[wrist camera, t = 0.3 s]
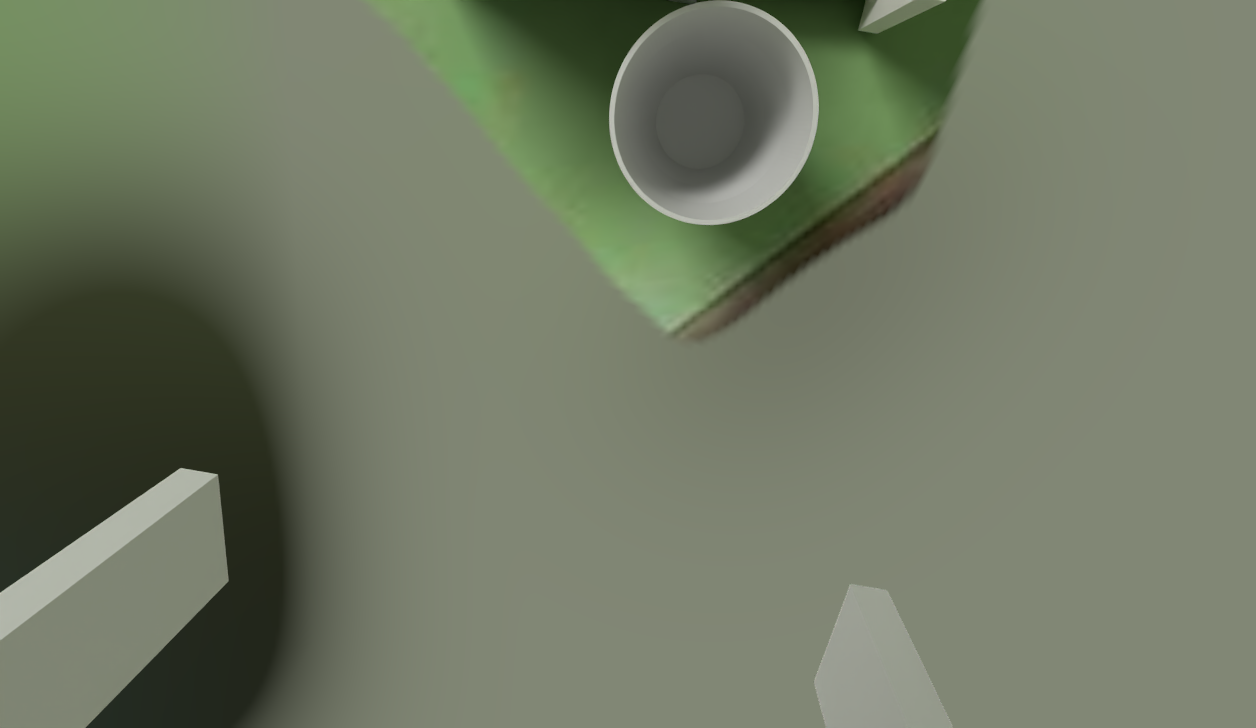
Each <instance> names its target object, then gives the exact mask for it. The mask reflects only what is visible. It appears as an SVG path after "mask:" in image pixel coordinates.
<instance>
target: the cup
mask: <svg viewBox="0 0 1256 728" xmlns="http://www.w3.org/2000/svg"><path fill="white" fill-rule="evenodd" d="M818 112H819V102H818V91H817V85H816V80H815V76H814V72H813V69H812V67H811V64H810V62H809V59H808V57H807V55H806V53H805V51H804V50H803V48H802V46H801V45H800V43H799V42H798V40H797V39H796V38H795V37H794V35H793V34H792V33H791V32H790V31H789V30H788V29H787V28H786V27H785V26H784V25H783V24H782V23H781V22H779V21H778V20H777V19H776V18H774V17H773V16H771V15H770V14H768V13H766V12H764V11H762V10H760V9H758V8H756V7H753V6H751V5H747V4H744V3H740V2H734V1H726V0H713V1H704V2H699V3H694V4H691V5H688V6H685V7H682V8H680V9H677V10H675V11H673V12H671V13H670V14H668V15H666V16H664V17H663V18H661V19H660V20H659V21H657V22H656V23H655V24H653V25H652V26H651V27H650V28H649V29H648V30H647V31H645V32H644V33H643V35H642V36H641V37H640V38H639V39H638V40H637V41H636V43H635V44H634V45H633V47H632V48H631V49H630V51H629V52H628V54H627V56H626V57H625V59H624V61H623V63H622V65H621V67H620V69H619V72H618V74H617V77H616V80H615V83H614V86H613V90H612V95H611V101H610V110H609V127H610V136H611V142H612V146H613V150H614V153H615V156H616V159H617V162H618V164H619V166H620V169H621V171H622V172H623V174H624V176H625V178H626V179H627V181H628V182H629V184H630V185H631V186H632V188H633V189H634V190H635V191H636V192H637V194H638V195H639V196H640V197H641V198H642V199H643V200H644V201H646V202H647V203H648V204H649V205H651V206H652V207H653V208H655V209H656V210H658V211H659V212H661V213H663V214H665V215H667V216H669V217H671V218H674V219H677V220H680V221H683V222H687V223H692V224H699V225H718V224H726V223H731V222H734V221H738V220H741V219H744V218H746V217H749V216H751V215H753V214H755V213H757V212H759V211H761V210H762V209H764V208H765V207H767V206H768V205H770V204H771V203H772V202H774V201H775V200H776V199H777V198H778V197H779V196H781V195H782V194H783V193H784V192H785V191H786V189H787V188H788V187H789V186H790V185H791V184H792V182H793V181H794V180H795V178H796V177H797V176H798V174H799V173H800V171H801V169H802V168H803V166H804V164H805V162H806V160H807V158H808V155H809V153H810V151H811V148H812V145H813V142H814V138H815V134H816V129H817V123H818Z"/></svg>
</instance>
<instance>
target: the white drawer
mask: <svg viewBox="0 0 1256 728" xmlns="http://www.w3.org/2000/svg"><path fill="white" fill-rule="evenodd" d="M945 1H946V0H866V1H865V5H864V9H863V13H862V17H861V21H860V25H859V28H858V31H864V32H870V33H876V34H878V33H880V32H882V31H884V30H886V29H889V28H891V27H893V26H895V25H897V24H899V23H901V22H903V21H905V20H907V19H910V18H912V17H914V16H916V15H918V14H920V13H922V12H924V11H926V10H929V9H931V8H933V7H935V6H937V5H939V4H941V3H943V2H945Z"/></svg>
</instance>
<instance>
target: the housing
mask: <svg viewBox="0 0 1256 728" xmlns="http://www.w3.org/2000/svg"><path fill="white" fill-rule="evenodd" d="M668 1H674V2H680V3H686V4H694V3H696V1H697V0H668Z"/></svg>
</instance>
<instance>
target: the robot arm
mask: <svg viewBox="0 0 1256 728" xmlns="http://www.w3.org/2000/svg"><path fill="white" fill-rule="evenodd" d="M219 492H220V491H219V482H218V475H217V474H212V473H206V472H200V471H194V470H188V469H183V468H180V469H179V470H177V471H176V472H175V473H173V474H172V475H170V476H169V477H168V478H166V479H165V480H163V481H162V482H160V483H159V484H157V485H156V486H154V487H153V488H151V489H150V490H149V491H147V492H146V493H144V494H143V495H141V496H140V497H138V498H137V499H136V500H134V501H133V502H131V503H130V504H128V505H127V506H125V507H124V508H122V509H121V510H120V511H118V512H117V513H115V514H114V515H112V516H111V517H109V518H108V519H107V520H105V521H104V522H102V523H101V524H99V525H98V526H97V527H95V528H93V529H92V530H91V531H89V532H88V533H86V534H85V535H83V536H82V537H80V538H79V539H78V540H76V541H75V542H73V543H72V544H70V545H69V546H67V547H66V548H65V549H63V550H62V551H60V552H59V553H57V554H56V555H54V556H53V557H52V558H50V559H49V560H47V561H46V562H44V563H43V564H41V565H40V566H39V567H37V568H36V569H34V570H33V571H31V572H30V573H28V574H27V575H26V576H24V577H23V578H21V579H20V580H18V581H17V582H15V583H14V584H12V585H11V586H9V587H8V588H7V589H5V590H4V591H2V592H1V593H0V728H85V727H86V726H87V725H88V724H89V723H90V722H91V721H92V720H93V719H94V718H95V717H96V716H97V715H98V714H99V713H100V712H101V711H102V710H103V709H104V708H105V707H106V706H107V705H108V704H109V703H110V702H111V701H112V700H113V698H115V697H116V696H117V694H119V692H120V691H121V690H122V689H123V688H124V687H125V686H126V685H127V684H128V683H129V682H130V681H131V680H132V679H133V678H134V677H135V676H136V675H137V674H138V673H139V672H140V671H141V670H142V669H143V668H144V667H145V666H146V665H147V664H148V663H149V662H150V661H151V660H152V659H153V658H154V657H155V656H156V655H157V654H158V653H159V652H160V651H161V650H162V648H163V647H164V646H165V645H166V644H167V643H168V642H169V641H170V640H171V639H172V638H173V637H174V636H175V635H176V634H177V633H178V632H179V631H180V630H181V629H182V628H183V627H184V626H185V625H186V624H187V623H188V622H189V621H190V620H191V619H192V618H193V617H194V615H195V614H197V612H199V611H200V610H201V609H202V608H203V606H205V604H206V603H207V602H208V601H209V600H210V599H211V598H212V597H213V596H214V595H215V594H216V593H217V592H218V591H219V590H220V589H221V588H222V587H223V586H224V585H225V584H226V583H227V582H228V571H227V561H226V551H225V542H224V532H223V521H222V513H221V512H222V511H221V501H220V493H219ZM814 685H815V688H816V692H817V695H818V699H819V703H820V706H821V710H822V714H823V718H824V721H825V725H826V728H953V726H952V724H951V722H950V720H949V718H948V715H947V714H946V711H945V709H944V707H943V705H942V703H941V701H940V699H939V697H938V695H937V693H936V691H935V689H934V686H933V684H932V682H931V680H930V678H929V676H928V674H927V672H926V670H925V668H924V666H923V664H922V662H921V659H920V657H919V655H918V653H917V651H916V649H915V647H914V645H913V643H912V641H911V639H910V637H909V635H908V633H907V631H906V628H905V626H904V624H903V622H902V620H901V618H900V616H899V614H898V612H897V610H896V608H895V606H894V603H893V602H892V599H891V598H890V595H889V593H888V591H887V590H883V589H876V588H871V587H865V586H860V585H854V584H850V586H849V589H848V592H847V594H846V597H845V600H844V603H843V605H842V608H841V610H840V613H839V616H838V618H837V621H836V624H835V626H834V629H833V632H832V634H831V637H830V640H829V642H828V645H827V648H826V651H825V653H824V656H823V659H822V661H821V664H820V667H819V669H818V672H817V675H816V678H815V680H814Z"/></svg>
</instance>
